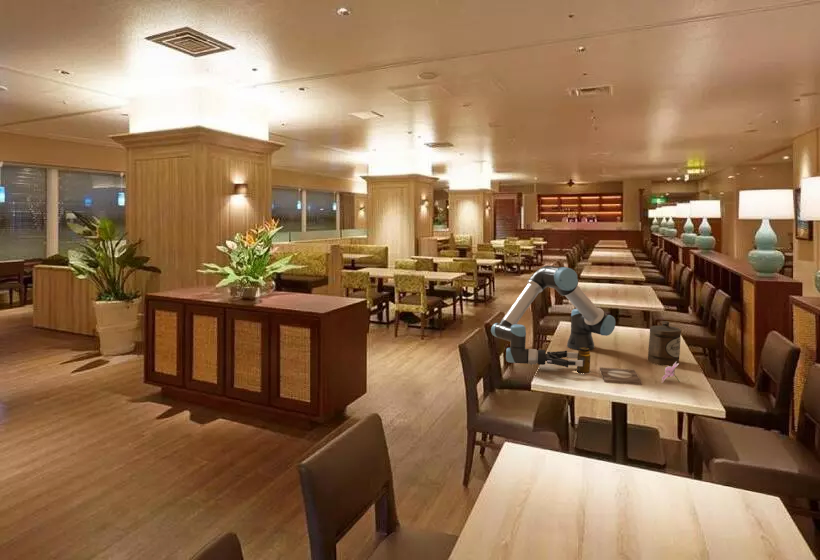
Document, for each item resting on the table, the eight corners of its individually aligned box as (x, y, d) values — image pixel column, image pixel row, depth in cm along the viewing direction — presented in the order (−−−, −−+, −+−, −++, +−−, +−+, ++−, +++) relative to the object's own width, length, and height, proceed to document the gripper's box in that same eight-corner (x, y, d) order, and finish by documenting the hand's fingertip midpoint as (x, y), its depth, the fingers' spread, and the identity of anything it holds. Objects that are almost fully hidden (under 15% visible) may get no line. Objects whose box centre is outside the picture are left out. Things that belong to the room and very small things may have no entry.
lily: (667, 378, 250) (658, 361, 249) (692, 374, 241) (682, 356, 241) (660, 392, 242) (650, 374, 241) (685, 388, 233) (675, 370, 233)
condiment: (593, 372, 257) (594, 348, 255) (582, 375, 252) (583, 351, 250) (581, 368, 263) (582, 345, 261) (570, 371, 258) (571, 348, 256)
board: (599, 369, 261) (599, 366, 261) (633, 371, 257) (634, 369, 257) (604, 382, 242) (604, 379, 241) (641, 384, 238) (641, 381, 238)
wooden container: (674, 367, 264) (677, 325, 261) (644, 362, 273) (646, 321, 270) (682, 361, 275) (684, 320, 272) (652, 356, 284) (654, 317, 282)
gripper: (537, 357, 274) (579, 360, 269) (536, 371, 250) (583, 374, 245) (537, 343, 273) (580, 345, 268) (537, 356, 249) (583, 359, 244)
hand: (581, 359), depth 256 cm, fingers open, 13 cm apart
